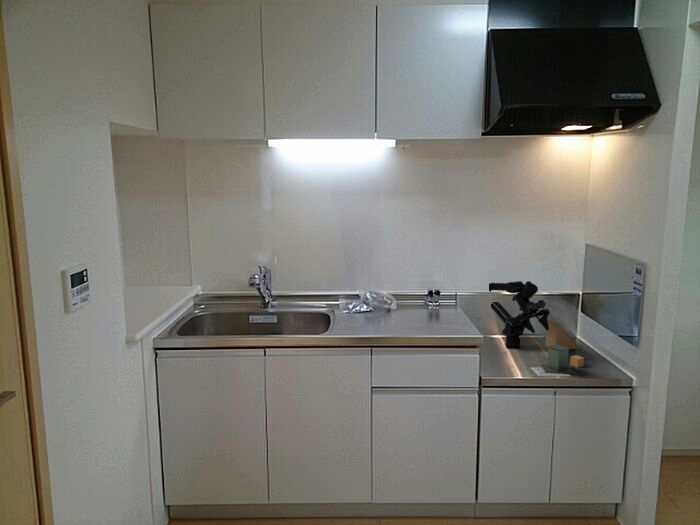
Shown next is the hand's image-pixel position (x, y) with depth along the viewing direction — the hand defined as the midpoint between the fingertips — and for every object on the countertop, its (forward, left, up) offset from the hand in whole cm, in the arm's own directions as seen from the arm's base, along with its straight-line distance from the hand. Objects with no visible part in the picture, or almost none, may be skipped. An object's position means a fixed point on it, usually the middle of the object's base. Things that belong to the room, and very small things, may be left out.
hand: (541, 331), depth 233 cm
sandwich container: (+15, +19, -14) cm, 28 cm away
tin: (+5, -13, -13) cm, 19 cm away
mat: (+5, -13, -14) cm, 19 cm away
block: (+15, -6, -14) cm, 21 cm away
